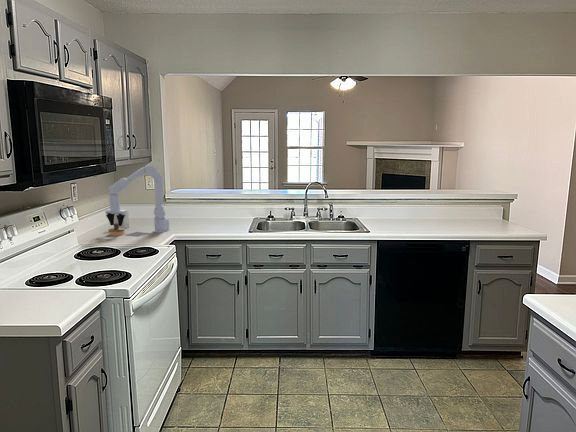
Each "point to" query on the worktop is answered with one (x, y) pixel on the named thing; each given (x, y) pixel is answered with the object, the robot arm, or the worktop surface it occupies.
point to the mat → (137, 234)
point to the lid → (116, 228)
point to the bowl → (116, 233)
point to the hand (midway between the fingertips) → (116, 225)
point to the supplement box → (125, 220)
